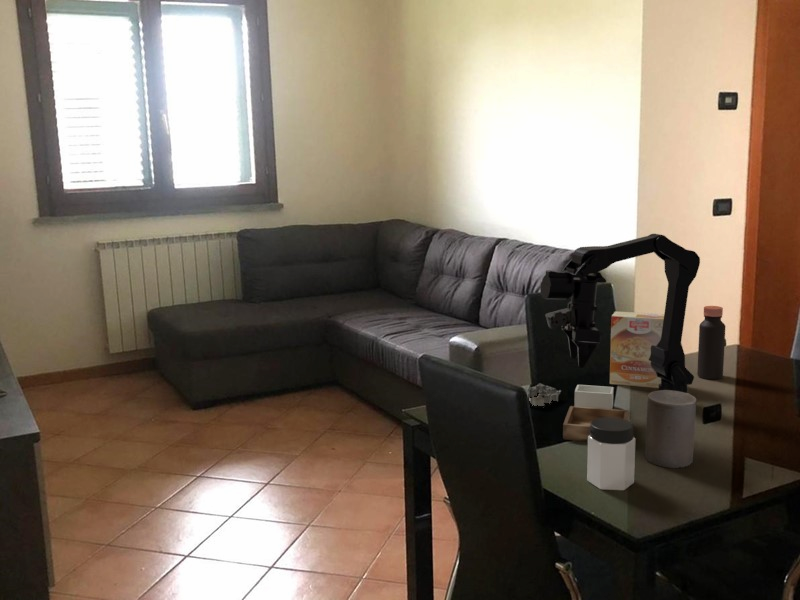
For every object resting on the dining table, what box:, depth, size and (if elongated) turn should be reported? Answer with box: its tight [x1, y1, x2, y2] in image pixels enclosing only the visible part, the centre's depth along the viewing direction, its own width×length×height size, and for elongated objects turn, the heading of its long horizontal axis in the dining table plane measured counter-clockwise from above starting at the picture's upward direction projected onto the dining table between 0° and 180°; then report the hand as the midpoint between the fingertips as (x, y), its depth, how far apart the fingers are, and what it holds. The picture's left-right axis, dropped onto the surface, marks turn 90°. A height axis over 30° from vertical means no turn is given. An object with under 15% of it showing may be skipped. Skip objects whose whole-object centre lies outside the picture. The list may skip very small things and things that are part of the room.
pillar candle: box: [644, 390, 697, 469], centre depth 165 cm, size 10×10×15 cm
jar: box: [586, 417, 636, 491], centre depth 155 cm, size 9×8×12 cm
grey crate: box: [573, 384, 615, 409], centre depth 200 cm, size 9×6×5 cm, turn 72°
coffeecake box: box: [609, 310, 664, 389], centre depth 219 cm, size 15×7×20 cm, turn 67°
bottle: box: [696, 305, 726, 381], centre depth 223 cm, size 7×7×20 cm
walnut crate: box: [562, 405, 630, 442], centre depth 183 cm, size 14×14×4 cm
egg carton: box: [525, 382, 562, 407], centre depth 206 cm, size 11×8×4 cm
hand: (576, 362), depth 194 cm, fingers open, 9 cm apart
